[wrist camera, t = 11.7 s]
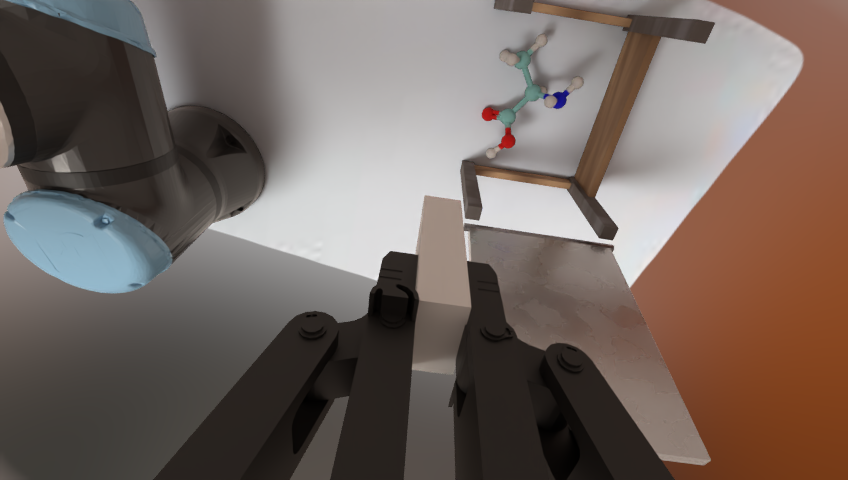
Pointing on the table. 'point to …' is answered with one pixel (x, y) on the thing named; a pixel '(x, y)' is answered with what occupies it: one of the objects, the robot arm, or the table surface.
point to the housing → (611, 113)
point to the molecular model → (531, 94)
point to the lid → (589, 325)
